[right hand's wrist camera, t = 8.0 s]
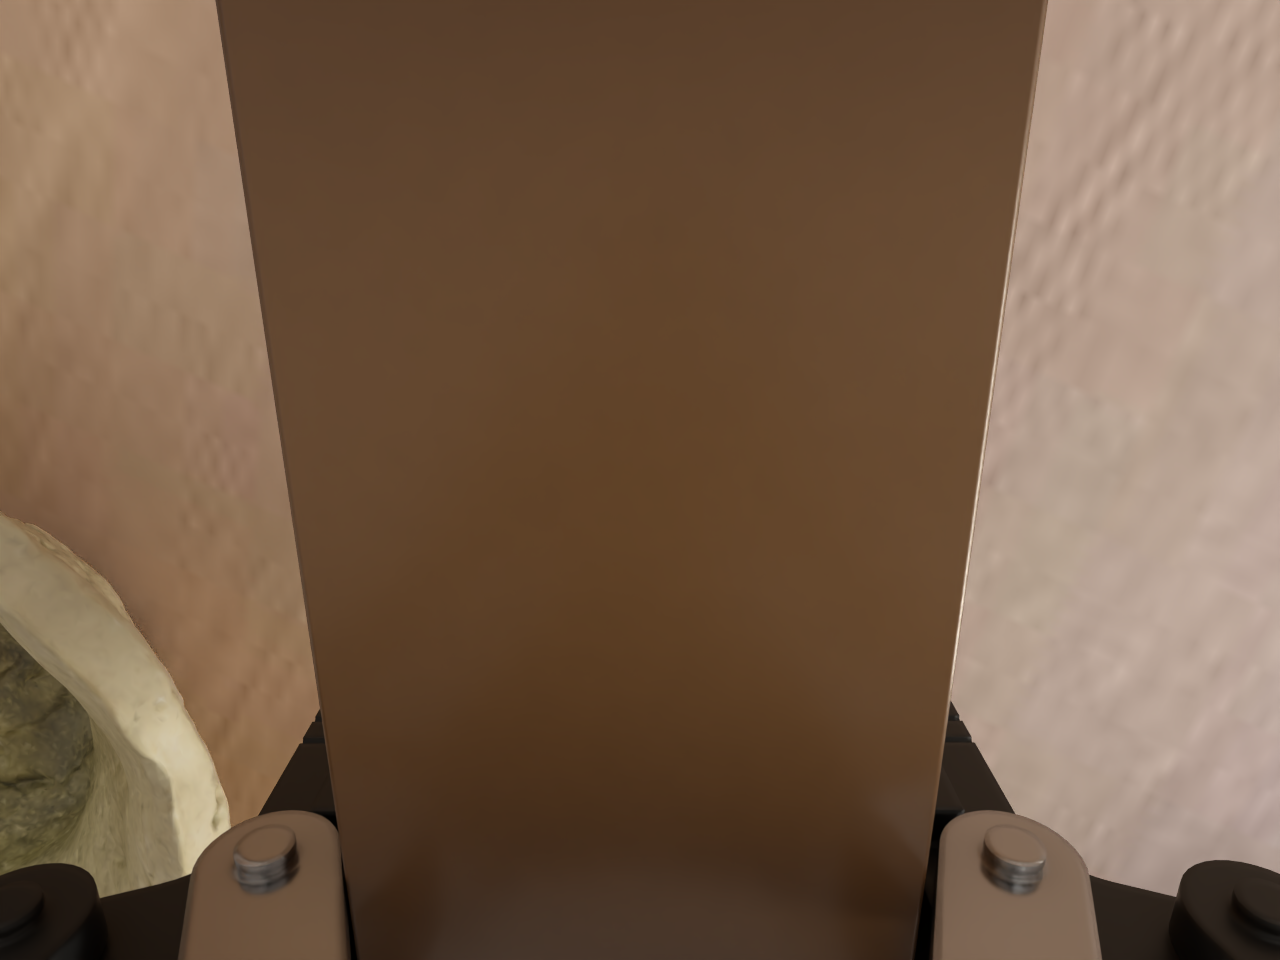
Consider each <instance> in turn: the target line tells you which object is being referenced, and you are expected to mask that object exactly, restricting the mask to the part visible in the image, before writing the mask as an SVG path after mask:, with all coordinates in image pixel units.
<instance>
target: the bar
mask: <svg viewBox="0 0 1280 960" xmlns="http://www.w3.org/2000/svg"><path fill="white" fill-rule="evenodd" d="M1047 4H1048V0H216V7H217V13H218V20H219V27H220V34H221V40H222V47H223V54H224V61H225V68H226V74H227V81H228V88H229V95H230V101H231V108H232V115H233V122H234V128H235V135H236V142H237V149H238V156H239V162H240V169H241V176H242V183H243V189H244V196H245V203H246V210H247V216H248V223H249V230H250V237H251V243H252V250H253V257H254V264H255V271H256V277H257V284H258V291H259V298H260V304H261V311H262V318H263V325H264V331H265V338H266V345H267V352H268V358H269V365H270V372H271V379H272V386H273V392H274V399H275V406H276V413H277V419H278V426H279V433H280V440H281V446H282V453H283V460H284V467H285V473H286V480H287V487H288V494H289V501H290V507H291V514H292V521H293V528H294V534H295V541H296V548H297V555H298V561H299V568H300V575H301V582H302V588H303V595H304V602H305V609H306V616H307V622H308V629H309V636H310V643H311V649H312V656H313V663H314V670H315V676H316V683H317V690H318V697H319V704H320V710H321V717H322V724H323V731H324V737H325V744H326V751H327V758H328V764H329V771H330V778H331V785H332V791H333V798H334V805H335V812H336V819H337V825H338V832H339V839H340V846H341V852H342V859H343V866H344V873H345V879H346V886H347V893H348V900H349V906H350V913H351V920H352V927H353V934H354V940H355V947H356V954H357V960H914V959H915V952H916V944H917V937H918V930H919V923H920V916H921V909H922V901H923V894H924V887H925V880H926V873H927V866H928V858H929V851H930V844H931V837H932V830H933V822H934V815H935V808H936V801H937V794H938V787H939V779H940V772H941V765H942V758H943V751H944V743H945V736H946V729H947V722H948V715H949V708H950V700H951V693H952V686H953V679H954V672H955V665H956V657H957V650H958V643H959V636H960V629H961V621H962V614H963V607H964V600H965V593H966V586H967V578H968V571H969V564H970V557H971V550H972V543H973V535H974V528H975V521H976V514H977V507H978V499H979V492H980V485H981V478H982V471H983V464H984V456H985V449H986V442H987V435H988V428H989V420H990V413H991V406H992V399H993V392H994V385H995V377H996V370H997V363H998V356H999V349H1000V342H1001V334H1002V327H1003V320H1004V313H1005V306H1006V298H1007V291H1008V284H1009V277H1010V270H1011V263H1012V255H1013V248H1014V241H1015V234H1016V227H1017V220H1018V212H1019V205H1020V198H1021V191H1022V184H1023V176H1024V169H1025V162H1026V155H1027V148H1028V141H1029V133H1030V126H1031V119H1032V112H1033V105H1034V97H1035V90H1036V83H1037V76H1038V69H1039V62H1040V54H1041V47H1042V40H1043V33H1044V26H1045V19H1046V11H1047Z"/></svg>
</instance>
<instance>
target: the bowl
mask: <svg viewBox="0 0 1280 960" xmlns="http://www.w3.org/2000/svg"><path fill="white" fill-rule="evenodd" d="M230 828H231V825H230V816H229V806H228V801H227V798H226V795H225V793H224V790H223V788H222V786H221V783H220V781H219V778H218V775H217V772H216V770H215V766H214V762H213V760H212V758H211V756H210V753H209V751H208V748H207V746H206V744H205V743H204V741H203V740H202V738H201V737H200V735H199V733H198V731H197V729H196V726H195V723H194V722H193V720H192V719H191V718H190V716H189V713H188V711H187V710H186V709H185V707H184V701H183V698H182V696H181V694H180V693H179V691H178V690H177V688H176V686H175V684H174V681H173V679H172V677H171V676H170V674H169V672H168V671H167V669H166V667H165V666H164V665H163V664H162V663H161V662H160V660H159V659H158V658H157V656H156V655H155V653H154V652H153V650H152V649H151V647H150V646H149V644H148V643H147V641H146V640H145V638H144V637H143V636H142V634H141V633H140V632H139V630H138V629H137V628H136V627H135V625H134V623H133V621H132V620H131V618H130V616H129V614H128V613H127V611H126V610H125V608H124V606H123V603H122V601H121V599H120V598H119V596H118V595H117V593H116V592H115V591H114V590H113V588H112V586H111V585H110V584H109V583H108V582H107V581H106V580H105V579H104V578H103V577H102V576H101V575H100V574H98V573H97V572H96V571H95V570H94V569H93V568H92V567H91V566H89V565H88V564H86V562H84V561H83V560H82V559H80V558H79V557H78V556H77V555H75V554H74V553H72V551H71V550H70V549H68V548H67V547H66V546H65V545H64V544H62V543H61V542H59V541H58V540H57V539H55V538H54V537H52V536H51V535H50V534H49V533H47V532H46V531H44V530H42V529H41V528H39V527H38V526H36V525H34V524H29V523H23V522H22V521H20V520H19V519H15V518H10V517H8V516H6V515H5V514H4V513H2V512H1V511H0V875H3V874H5V873H8V872H11V871H14V870H17V869H20V868H24V867H29V866H33V865H39V864H46V863H65V864H72V865H75V866H78V867H81V868H83V869H85V870H86V871H88V872H89V873H90V874H91V875H92V877H93V878H94V880H95V883H96V885H97V889H98V893H99V897H100V898H102V897H106V896H110V895H115V894H119V893H123V892H127V891H131V890H136V889H140V888H144V887H148V886H153V885H157V884H161V883H164V882H168V881H171V880H175V879H178V878H180V877H183V876H186V875H188V874H191V873H192V869H193V867H194V865H195V863H196V861H197V859H198V857H199V856H200V855H201V853H202V852H203V851H204V849H205V848H206V847H207V846H208V845H209V844H210V843H211V842H212V841H214V840H215V839H216V838H217V837H219V836H220V835H221V834H222V833H224V832H226V831H227V830H229V829H230Z"/></svg>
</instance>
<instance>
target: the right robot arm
mask: <svg viewBox="0 0 1280 960" xmlns="http://www.w3.org/2000/svg"><path fill="white" fill-rule="evenodd" d="M0 960H357V954H356V947H355V940H354V934H353V927H352V920H351V913H350V906H349V900H348V893H347V886H346V879H345V873H344V866H343V859H342V852H341V846H340V839H339V832H338V825H337V819H336V812H335V805H334V798H333V791H332V785H331V778H330V771H329V764H328V758H327V751H326V744H325V737H324V731H323V724H322V717H321V710H319V711H318V713H317V715H316V719H315V722H312V724H311V725H310V727H309V729H308V730H307V732H306V734H305V736H304V737H303V744H299V746H298V748H297V749H296V751H295V753H294V755H293V756H292V758H291V760H290V762H289V763H288V765H287V767H286V768H285V770H284V772H283V774H282V775H281V777H280V779H279V781H278V782H277V784H276V786H275V787H274V789H273V791H272V793H271V794H270V796H269V798H268V800H267V801H266V803H265V805H264V807H263V808H262V810H261V812H260V813H259V815H258V816H257V817H254V818H251V819H249V820H246V821H244V822H242V823H240V824H238V825H236V826H234V827H232V828H230V829H229V830H227V831H226V832H224V833H222V834H221V835H220V836H219V837H217V838H216V839H215V840H214V841H212V842H211V843H210V844H209V845H208V846H207V847H206V848H205V849H204V851H203V852H202V853H201V855H200V856H199V857H198V859H197V861H196V863H195V865H194V867H193V869H192V873H191V874H188V875H186V876H183V877H180V878H178V879H175V880H171V881H168V882H164V883H161V884H157V885H153V886H148V887H144V888H140V889H136V890H131V891H127V892H123V893H119V894H115V895H110V896H106V897H102V898H100V897H99V893H98V889H97V885H96V883H95V880H94V878H93V877H92V875H91V874H90V873H89V872H88V871H86V870H85V869H83V868H81V867H78V866H75V865H72V864H65V863H46V864H39V865H33V866H29V867H24V868H20V869H17V870H14V871H11V872H8V873H5V874H3V875H0ZM914 960H1280V874H1278V873H1276V872H1273V871H1271V870H1268V869H1265V868H1262V867H1259V866H1256V865H1252V864H1247V863H1243V862H1236V861H1229V860H1213V861H1206V862H1202V863H1199V864H1196V865H1194V866H1192V867H1191V868H1189V869H1188V870H1187V871H1186V872H1185V873H1184V875H1183V877H1182V879H1181V882H1180V885H1179V889H1178V893H1177V897H1173V896H1169V895H1165V894H1161V893H1157V892H1152V891H1148V890H1144V889H1140V888H1136V887H1131V886H1127V885H1123V884H1119V883H1115V882H1111V881H1107V880H1104V879H1100V878H1097V877H1094V876H1091V875H1089V873H1088V869H1087V867H1086V865H1085V863H1084V861H1083V859H1082V857H1081V856H1080V855H1079V853H1078V852H1077V851H1076V849H1075V848H1074V847H1073V846H1072V845H1071V844H1070V843H1069V842H1068V841H1066V840H1065V839H1064V838H1063V837H1061V836H1060V835H1059V834H1058V833H1056V832H1054V831H1053V830H1051V829H1050V828H1048V827H1046V826H1044V825H1042V824H1040V823H1038V822H1036V821H1034V820H1031V819H1029V818H1026V817H1023V816H1020V815H1016V814H1015V813H1014V811H1013V809H1012V807H1011V806H1010V804H1009V802H1008V800H1007V799H1006V797H1005V795H1004V793H1003V792H1002V790H1001V788H1000V786H999V785H998V783H997V781H996V779H995V778H994V776H993V774H992V772H991V771H990V769H989V767H988V765H987V764H986V762H985V760H984V758H983V756H982V755H981V753H980V751H979V749H978V748H977V746H976V744H975V743H972V741H971V735H970V734H969V732H968V730H967V728H966V727H965V725H964V723H963V721H960V720H959V714H958V713H957V711H956V709H955V707H954V706H953V704H952V702H951V700H950V708H949V715H948V722H947V729H946V736H945V743H944V751H943V758H942V765H941V772H940V779H939V787H938V794H937V801H936V808H935V815H934V822H933V830H932V837H931V844H930V851H929V858H928V866H927V873H926V880H925V887H924V894H923V901H922V909H921V916H920V923H919V930H918V937H917V944H916V952H915V959H914Z"/></svg>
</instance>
